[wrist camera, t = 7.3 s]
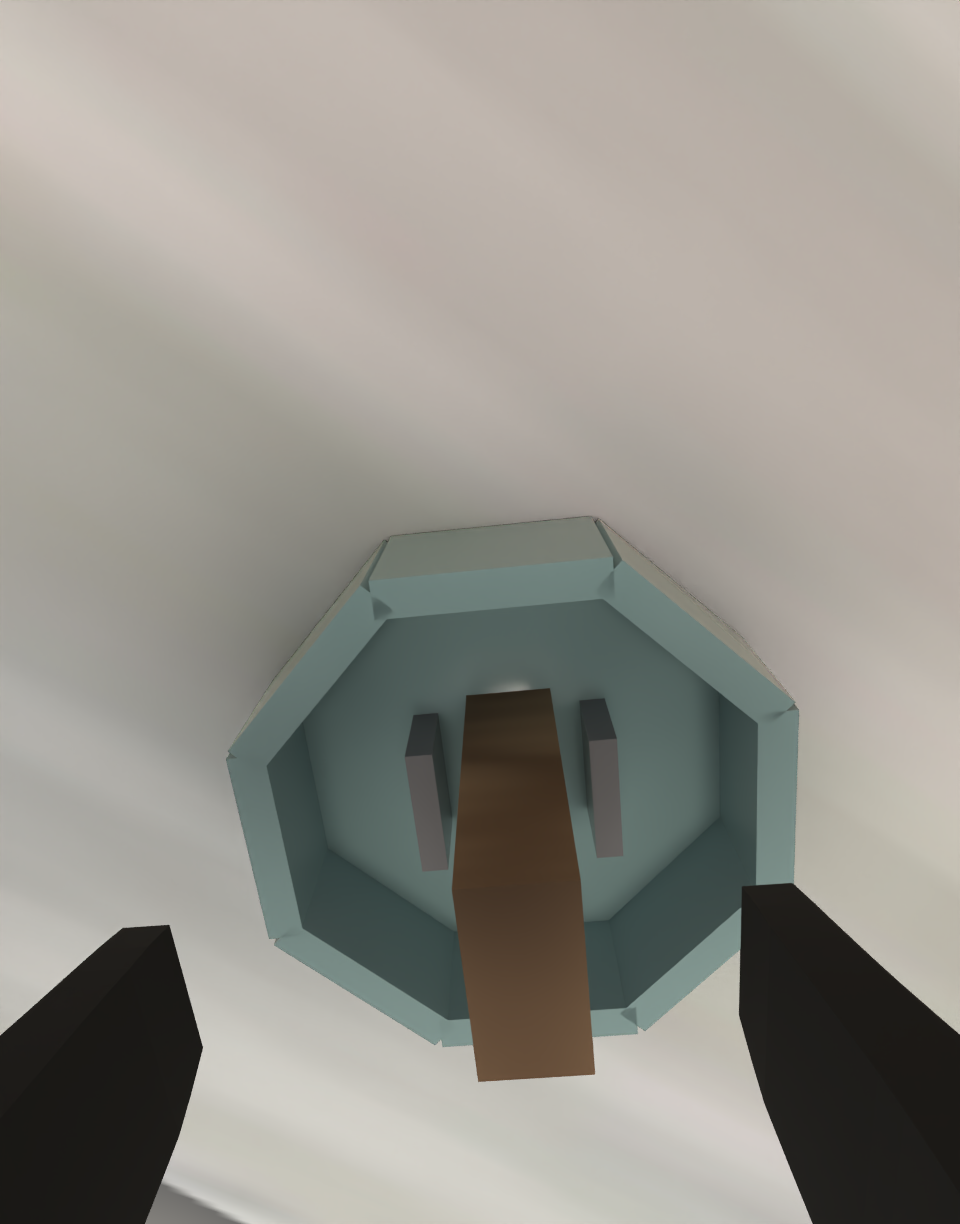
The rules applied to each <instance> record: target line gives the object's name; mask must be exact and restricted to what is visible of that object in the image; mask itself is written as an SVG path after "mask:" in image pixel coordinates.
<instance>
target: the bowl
mask: <svg viewBox="0 0 960 1224" xmlns="http://www.w3.org/2000/svg"><path fill="white" fill-rule="evenodd" d="M546 688H550V691H551V697H552V704H553V710H554V716H555V722H556V729H557V735H558V741H559V747H560V754H561V760H562V766H563V772H564V779H565V785H566V791H567V797H568V803H569V810H570V816H571V822H572V828H573V835H574V841H575V847H576V853H577V860H578V866H579V872H580V878H581V890H582V903H583V917H584V931H585V944H586V958H587V972H588V985H589V999H590V1012H591V1026H592V1037H600V1036H615V1035H630V1034H638V1030H637V1026H638V1027H640V1028H641V1029H643V1030H644V1031H646V1030H647V1029H648V1028H649V1027H650V1026H652V1025H653V1024H654V1023H655V1022H656V1021H657V1020H659V1019H660V1018H661V1017H662V1016H663V1015H664V1014H666V1013H667V1012H668V1011H669V1010H670V1009H671V1008H673V1007H674V1006H675V1005H676V1004H677V1003H678V1002H679V1001H681V1000H682V999H683V998H684V997H685V996H686V995H688V994H689V993H690V992H691V991H692V990H693V989H695V988H696V987H697V986H698V985H699V984H700V983H702V982H703V981H704V980H705V979H706V978H707V977H709V976H710V975H711V974H712V973H713V972H714V971H716V970H717V969H718V968H719V967H720V966H721V965H723V964H724V963H725V962H726V961H727V960H728V959H730V958H731V957H732V956H733V955H734V954H735V953H737V952H738V951H739V950H740V947H741V900H742V886H753V885H767V884H782V883H793V884H794V857H795V824H796V792H797V759H798V726H799V709H798V708H797V707H796V705H795V704H794V703H795V701H794V700H793V699H792V697H791V696H790V695H789V694H788V692H787V691H786V690H785V689H784V688H783V686H782V685H781V684H780V683H779V681H778V680H777V679H776V678H775V677H774V675H773V674H772V673H771V672H770V671H769V669H768V668H767V667H766V666H765V664H764V663H763V662H762V661H761V660H760V658H759V657H758V656H757V655H756V653H755V652H754V651H753V650H752V649H751V647H750V646H749V645H748V644H747V643H746V641H745V640H744V639H743V638H742V637H741V636H740V635H739V634H737V633H736V632H735V631H734V630H733V629H731V628H730V627H729V626H728V625H727V624H725V623H724V622H723V621H722V620H721V619H719V618H718V617H717V616H716V615H715V614H713V613H712V612H711V611H710V610H709V609H707V608H706V607H705V606H704V605H702V604H701V603H700V602H699V601H698V600H696V599H695V598H694V597H693V596H692V595H690V594H689V593H688V592H687V591H686V590H684V589H683V588H682V587H681V586H680V585H678V584H677V583H676V582H675V581H674V580H672V579H671V578H670V577H669V576H668V575H666V574H665V573H664V572H663V571H662V570H660V569H659V568H658V567H657V566H656V565H654V564H653V563H652V562H651V561H649V560H648V559H647V558H646V557H645V556H643V555H642V554H641V553H640V552H639V551H637V550H636V549H635V548H634V547H633V546H631V545H630V544H629V543H628V542H627V541H625V540H624V539H623V538H622V537H621V536H619V535H618V534H617V533H616V532H615V531H613V530H612V529H611V528H610V527H609V526H607V525H606V524H605V523H604V522H603V521H601V520H600V519H598V520H597V521H596V522H595V523H594V521H593V519H592V517H591V516H587V517H577V518H567V519H557V520H547V521H537V522H527V523H517V524H507V525H497V526H487V527H477V528H467V529H457V530H447V531H437V532H427V533H417V534H407V535H397V536H391V537H390V539H389V541H388V542H386V541H385V540H384V541H383V542H382V543H381V544H380V546H379V547H378V548H377V550H376V551H375V552H374V553H373V555H372V556H371V557H370V558H369V560H368V561H367V562H366V563H365V565H364V566H363V567H362V569H361V570H360V571H359V572H358V574H357V575H356V576H355V577H354V579H353V580H352V581H351V582H350V584H349V585H348V586H347V587H346V589H345V590H344V591H343V593H342V594H341V595H340V596H339V598H338V599H337V600H336V601H335V603H334V604H333V605H332V606H331V608H330V609H329V610H328V612H327V613H326V614H325V615H324V617H323V618H322V619H321V620H320V622H319V623H318V624H317V625H316V627H315V628H314V629H313V631H312V632H311V633H310V634H309V636H308V637H307V638H306V639H305V641H304V642H303V643H302V644H301V646H300V647H299V648H298V649H297V651H296V652H295V653H294V655H293V656H292V657H291V658H290V660H289V661H288V662H287V663H286V665H285V666H284V667H283V668H282V670H281V671H280V672H279V674H278V675H277V676H276V677H275V679H274V680H273V681H272V683H271V684H270V686H269V687H268V689H267V691H266V692H265V694H264V695H263V697H262V698H261V700H260V702H259V703H258V705H257V706H256V708H255V709H254V711H253V713H252V714H251V716H250V717H249V719H248V720H247V722H246V724H245V725H244V727H243V728H242V730H241V731H240V733H239V735H238V736H237V738H236V739H235V741H234V742H233V744H232V745H231V747H230V749H229V750H228V752H229V753H230V754H229V755H228V757H227V758H226V761H227V765H228V770H229V774H230V778H231V782H232V786H233V790H234V795H235V799H236V803H237V807H238V811H239V815H240V820H241V824H242V828H243V832H244V836H245V840H246V845H247V849H248V853H249V857H250V861H251V865H252V870H253V874H254V878H255V882H256V886H257V891H258V895H259V899H260V903H261V907H262V911H263V916H264V920H265V924H266V928H267V932H268V936H269V939H276V940H275V943H274V945H275V946H276V947H278V948H279V949H281V950H283V951H284V952H286V953H287V954H289V955H291V956H292V957H294V958H295V959H297V960H299V961H300V962H302V963H304V964H305V965H307V966H308V967H310V968H312V969H313V970H315V971H316V972H318V973H320V974H321V975H323V976H324V977H326V978H328V979H329V980H331V981H332V982H334V983H336V984H337V985H339V986H341V987H342V988H344V989H345V990H347V991H349V992H350V993H352V994H353V995H355V996H357V997H358V998H360V999H361V1000H363V1001H365V1002H366V1003H368V1004H370V1005H371V1006H373V1007H374V1008H376V1009H378V1010H379V1011H381V1012H382V1013H384V1014H386V1015H387V1016H389V1017H390V1018H392V1019H394V1020H395V1021H397V1022H398V1023H400V1024H402V1025H403V1026H405V1027H407V1028H408V1029H410V1030H411V1031H413V1032H415V1033H416V1034H418V1035H419V1036H421V1037H423V1038H424V1039H426V1040H427V1041H429V1042H431V1043H432V1044H434V1045H436V1044H437V1043H438V1042H439V1041H440V1040H442V1046H443V1047H450V1046H465V1045H473V1040H472V1032H471V1025H470V1018H469V1011H468V1004H467V996H466V989H465V982H464V975H463V968H462V960H461V953H460V946H459V939H458V932H457V924H456V917H455V910H454V903H453V896H452V879H453V866H454V853H455V839H456V826H457V813H458V799H459V786H460V773H461V759H462V746H463V732H464V719H465V706H466V695H476V694H488V693H500V692H511V691H523V690H534V689H546Z"/></svg>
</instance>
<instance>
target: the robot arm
mask: <svg viewBox="0 0 960 1224" xmlns="http://www.w3.org/2000/svg"><path fill="white" fill-rule="evenodd" d="M739 1017H740V1020H741V1024H742V1027H743V1031H744V1035H745V1038H746V1042H747V1045H748V1049H749V1053H750V1056H751V1060H752V1063H753V1067H754V1070H755V1073H756V1077H757V1080H758V1083H759V1087H760V1090H761V1094H762V1097H763V1100H764V1103H765V1106H766V1109H767V1111H768V1114H769V1116H770V1119H771V1121H772V1124H773V1126H774V1129H775V1131H776V1134H777V1136H778V1139H779V1141H780V1144H781V1146H782V1149H783V1151H784V1154H785V1156H786V1159H787V1161H788V1164H789V1166H790V1169H791V1171H792V1174H793V1176H794V1179H795V1181H796V1184H797V1186H798V1189H799V1191H800V1194H801V1196H802V1198H803V1201H804V1203H805V1206H806V1208H807V1211H808V1213H809V1216H810V1218H811V1221H812V1223H813V1224H960V1034H958V1033H957V1032H956V1031H955V1030H954V1029H952V1028H951V1027H950V1026H949V1025H948V1024H947V1023H946V1022H944V1021H943V1020H942V1019H941V1018H940V1017H939V1016H938V1015H936V1014H935V1013H934V1012H933V1011H932V1010H931V1009H929V1008H928V1007H927V1006H926V1005H925V1004H924V1003H923V1002H921V1001H920V1000H919V999H918V998H917V997H916V996H915V995H913V994H912V993H911V992H910V991H909V990H908V989H907V988H905V987H904V986H903V985H902V984H901V983H900V982H899V981H898V980H896V979H895V978H894V977H893V976H892V975H891V974H890V973H889V972H888V971H886V970H885V969H884V968H883V967H882V966H881V965H880V964H879V963H878V962H877V961H875V960H874V959H873V958H872V957H871V956H870V955H869V954H868V953H867V952H866V951H865V950H864V949H863V948H861V947H860V946H859V945H858V944H857V943H856V942H855V941H854V940H853V939H852V938H851V937H850V936H849V935H847V934H846V933H845V932H844V931H843V930H842V929H841V928H840V927H839V926H838V925H837V924H836V923H835V922H834V921H833V920H832V919H830V918H829V917H828V916H827V915H826V914H825V913H824V912H823V911H822V910H821V909H820V908H819V907H818V906H817V905H816V904H815V903H814V902H812V901H811V900H810V899H809V898H808V897H807V896H806V895H805V894H804V893H803V892H802V891H801V890H799V889H798V888H797V887H796V886H795V885H794V884H793V883H782V884H767V885H753V886H742V900H741V947H740V994H739ZM202 1049H203V1046H202V1043H201V1039H200V1035H199V1032H198V1028H197V1024H196V1021H195V1017H194V1013H193V1010H192V1006H191V1002H190V999H189V995H188V991H187V988H186V984H185V980H184V977H183V973H182V969H181V966H180V962H179V958H178V955H177V951H176V947H175V944H174V940H173V936H172V933H171V929H170V925H161V926H146V927H132V928H122V929H121V930H120V931H119V932H117V933H116V934H115V935H114V936H112V937H111V938H110V939H109V940H108V941H106V942H105V943H104V944H103V945H102V946H101V947H99V948H98V949H97V950H96V951H95V952H94V953H93V954H91V955H90V956H89V957H88V958H87V959H86V960H85V961H83V962H82V963H81V964H80V965H79V966H78V967H77V968H76V969H74V970H73V971H72V972H71V973H70V974H69V975H68V976H67V977H65V978H64V979H63V980H62V981H61V982H60V983H59V984H58V985H57V986H55V987H54V988H53V989H52V990H51V991H50V992H49V993H48V994H47V995H45V996H44V997H43V998H42V999H41V1000H40V1001H39V1002H38V1003H37V1004H35V1005H34V1006H33V1007H32V1008H31V1009H30V1010H29V1011H28V1012H26V1013H25V1014H24V1015H23V1016H22V1017H21V1018H20V1019H18V1020H17V1021H16V1022H15V1023H14V1024H13V1025H12V1026H11V1027H9V1028H8V1029H7V1030H6V1031H5V1032H4V1033H3V1034H1V1035H0V1224H145V1222H146V1219H147V1216H148V1214H149V1212H150V1209H151V1207H152V1204H153V1201H154V1199H155V1197H156V1194H157V1191H158V1189H159V1186H160V1184H161V1181H162V1179H163V1176H164V1174H165V1171H166V1169H167V1166H168V1163H169V1161H170V1158H171V1156H172V1153H173V1150H174V1148H175V1145H176V1142H177V1140H178V1137H179V1134H180V1131H181V1127H182V1124H183V1120H184V1117H185V1113H186V1110H187V1106H188V1103H189V1099H190V1096H191V1092H192V1088H193V1084H194V1081H195V1077H196V1073H197V1069H198V1065H199V1061H200V1057H201V1053H202Z"/></svg>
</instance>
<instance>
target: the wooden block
mask: <svg viewBox="0 0 960 1224" xmlns="http://www.w3.org/2000/svg"><path fill="white" fill-rule="evenodd" d="M452 896H453V903H454V910H455V917H456V924H457V932H458V939H459V946H460V953H461V960H462V968H463V975H464V982H465V989H466V996H467V1004H468V1011H469V1018H470V1025H471V1032H472V1040H473V1047H474V1054H475V1061H476V1068H477V1076H478V1082H483V1081H498V1080H514V1079H530V1078H546V1077H562V1076H578V1075H594V1074H595V1067H594V1053H593V1040H592V1026H591V1012H590V999H589V985H588V972H587V958H586V944H585V931H584V917H583V903H582V890H581V878H580V872H579V866H578V860H577V853H576V847H575V841H574V835H573V828H572V822H571V816H570V810H569V803H568V797H567V791H566V785H565V779H564V772H563V766H562V760H561V754H560V747H559V741H558V735H557V729H556V722H555V716H554V710H553V704H552V697H551V691H550V688H546V689H534V690H523V691H511V692H500V693H488V694H476V695H466V706H465V719H464V732H463V746H462V759H461V773H460V786H459V799H458V813H457V826H456V839H455V853H454V866H453V879H452Z"/></svg>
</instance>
